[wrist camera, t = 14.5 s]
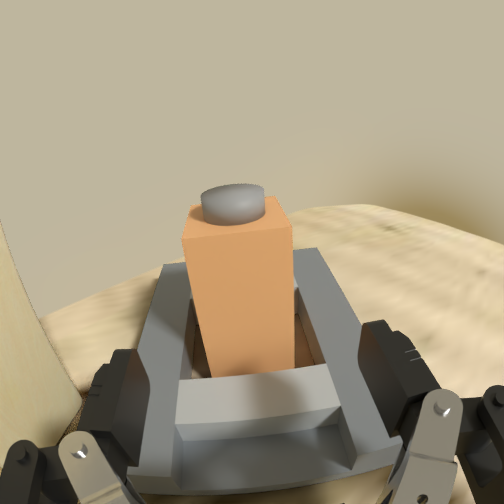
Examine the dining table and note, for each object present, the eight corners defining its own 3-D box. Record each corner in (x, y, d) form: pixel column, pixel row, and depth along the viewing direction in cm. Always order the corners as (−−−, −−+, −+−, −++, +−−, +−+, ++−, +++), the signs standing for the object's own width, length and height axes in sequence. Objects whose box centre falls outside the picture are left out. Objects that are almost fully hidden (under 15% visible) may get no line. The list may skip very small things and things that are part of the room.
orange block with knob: (294, 377, 19) (290, 201, 14) (214, 386, 19) (176, 214, 14) (281, 328, 23) (273, 176, 18) (214, 336, 23) (188, 185, 18)
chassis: (403, 460, 12) (418, 437, 11) (128, 491, 12) (108, 472, 11) (316, 271, 30) (316, 247, 29) (169, 287, 30) (163, 264, 29)
